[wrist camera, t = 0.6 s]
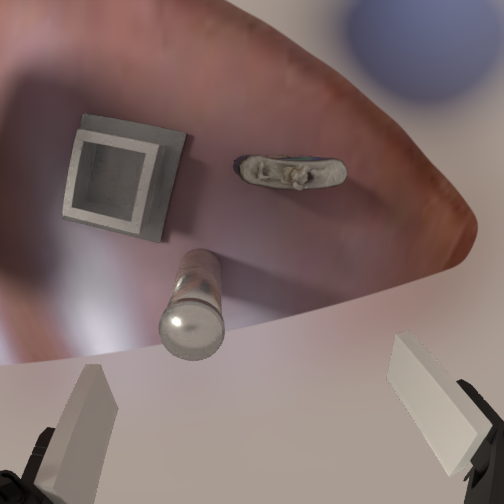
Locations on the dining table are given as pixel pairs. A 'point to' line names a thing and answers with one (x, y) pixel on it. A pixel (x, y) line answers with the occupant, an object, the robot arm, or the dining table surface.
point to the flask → (291, 171)
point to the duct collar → (122, 176)
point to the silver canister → (194, 308)
